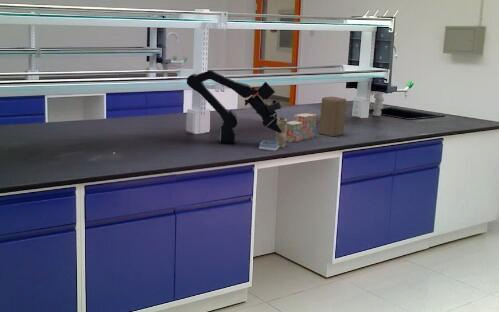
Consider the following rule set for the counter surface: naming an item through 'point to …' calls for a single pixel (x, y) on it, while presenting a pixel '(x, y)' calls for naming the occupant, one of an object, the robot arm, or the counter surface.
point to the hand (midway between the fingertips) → (281, 130)
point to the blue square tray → (269, 145)
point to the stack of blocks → (301, 127)
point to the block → (332, 116)
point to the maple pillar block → (282, 136)
